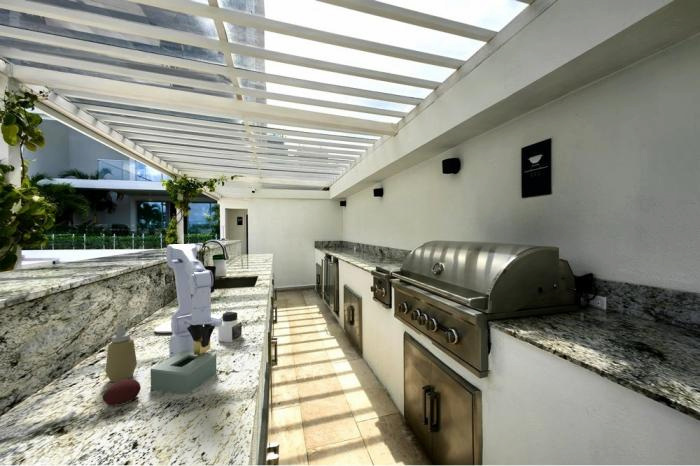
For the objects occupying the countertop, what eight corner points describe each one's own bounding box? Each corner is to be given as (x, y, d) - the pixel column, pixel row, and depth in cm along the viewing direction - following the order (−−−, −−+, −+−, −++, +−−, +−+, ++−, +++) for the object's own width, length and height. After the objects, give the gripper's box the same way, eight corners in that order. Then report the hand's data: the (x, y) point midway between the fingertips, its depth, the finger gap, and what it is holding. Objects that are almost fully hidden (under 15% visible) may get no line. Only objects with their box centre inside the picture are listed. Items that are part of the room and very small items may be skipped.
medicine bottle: (232, 342, 119) (232, 315, 119) (217, 341, 120) (217, 314, 120) (242, 336, 126) (241, 310, 126) (228, 335, 127) (228, 309, 127)
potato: (109, 397, 80) (109, 377, 80) (144, 391, 83) (143, 371, 83) (98, 413, 73) (98, 391, 73) (136, 405, 77) (136, 384, 76)
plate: (200, 335, 127) (200, 330, 127) (148, 335, 128) (148, 330, 128) (225, 318, 152) (225, 314, 152) (181, 318, 153) (181, 314, 153)
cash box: (150, 389, 84) (150, 368, 84) (184, 368, 97) (184, 350, 97) (186, 394, 82) (186, 373, 81) (216, 372, 94) (216, 353, 94)
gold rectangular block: (193, 354, 92) (193, 341, 92) (204, 348, 97) (204, 335, 97) (200, 355, 92) (199, 341, 91) (210, 348, 96) (210, 336, 96)
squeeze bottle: (142, 373, 93) (142, 321, 93) (116, 386, 86) (115, 329, 85) (126, 369, 96) (126, 319, 96) (99, 382, 88) (98, 326, 88)
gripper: (173, 308, 91) (174, 348, 91) (212, 310, 89) (212, 352, 89) (189, 303, 98) (190, 340, 98) (226, 304, 95) (226, 343, 96)
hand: (201, 345), depth 94 cm, fingers closed on gold rectangular block, 2 cm apart
